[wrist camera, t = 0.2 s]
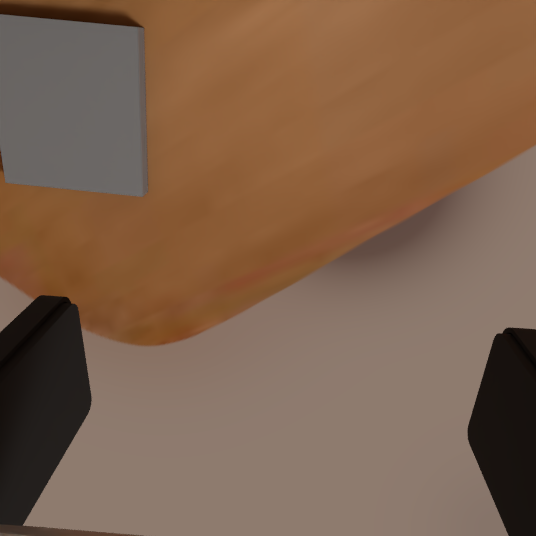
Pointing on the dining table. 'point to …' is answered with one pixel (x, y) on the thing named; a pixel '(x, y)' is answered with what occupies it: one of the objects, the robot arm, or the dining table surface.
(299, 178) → the dining table surface
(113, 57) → the slate tile
